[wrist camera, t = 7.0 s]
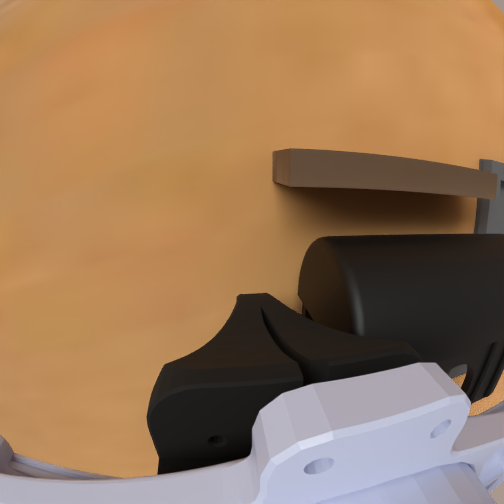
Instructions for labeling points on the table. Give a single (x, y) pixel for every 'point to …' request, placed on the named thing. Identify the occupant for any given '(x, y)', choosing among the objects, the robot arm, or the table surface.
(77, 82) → the table surface
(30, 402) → the table surface
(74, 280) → the table surface
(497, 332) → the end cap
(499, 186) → the tray
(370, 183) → the channel walls
